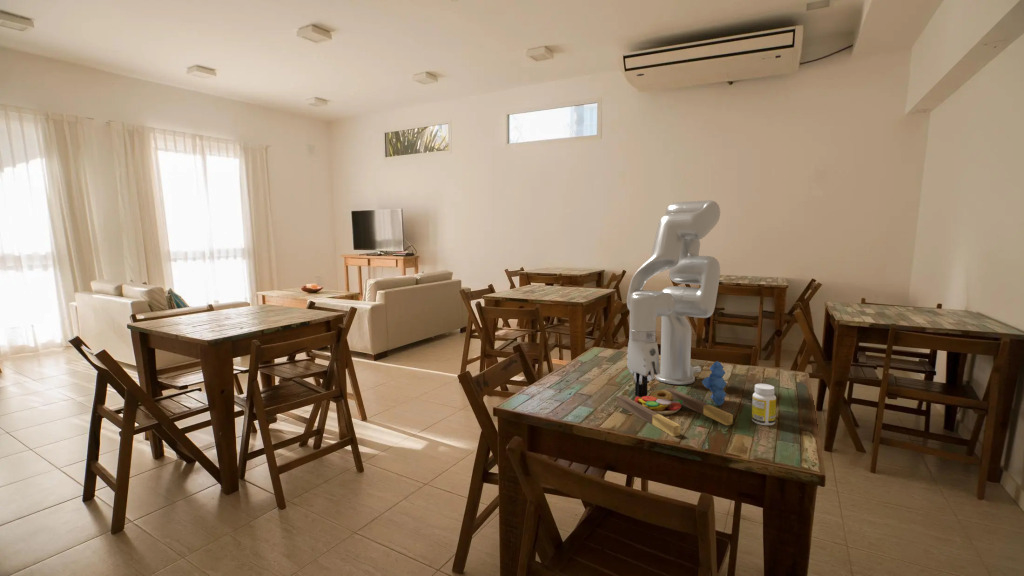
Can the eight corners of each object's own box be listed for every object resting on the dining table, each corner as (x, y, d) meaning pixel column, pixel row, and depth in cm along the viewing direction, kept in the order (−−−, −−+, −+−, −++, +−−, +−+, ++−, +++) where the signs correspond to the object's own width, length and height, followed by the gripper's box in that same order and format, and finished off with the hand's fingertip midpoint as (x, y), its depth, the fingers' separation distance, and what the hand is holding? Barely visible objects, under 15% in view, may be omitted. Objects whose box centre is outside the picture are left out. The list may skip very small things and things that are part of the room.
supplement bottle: (771, 418, 125) (773, 383, 124) (778, 426, 120) (779, 390, 119) (749, 417, 126) (750, 382, 125) (754, 425, 121) (756, 388, 120)
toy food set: (664, 398, 143) (665, 387, 142) (692, 413, 130) (693, 402, 130) (625, 402, 139) (625, 392, 139) (650, 419, 126) (650, 407, 126)
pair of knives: (669, 395, 144) (669, 387, 144) (732, 424, 122) (732, 414, 121) (616, 404, 137) (616, 396, 137) (673, 436, 115) (673, 426, 114)
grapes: (698, 395, 144) (699, 356, 143) (721, 396, 142) (723, 357, 141) (704, 408, 133) (705, 367, 131) (729, 410, 131) (731, 368, 130)
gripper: (669, 339, 134) (668, 402, 136) (637, 330, 148) (636, 386, 150) (648, 341, 131) (646, 405, 133) (617, 332, 145) (616, 389, 147)
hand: (641, 395), depth 141 cm, fingers closed
